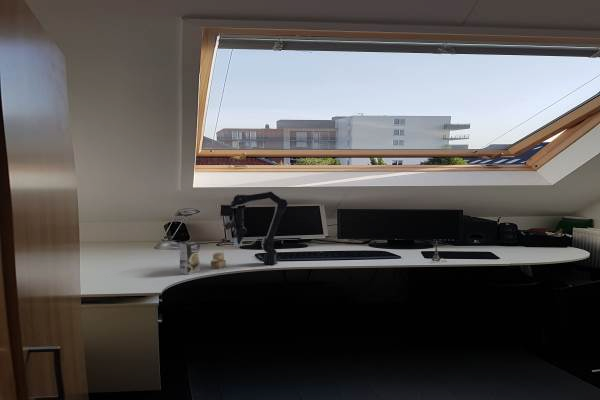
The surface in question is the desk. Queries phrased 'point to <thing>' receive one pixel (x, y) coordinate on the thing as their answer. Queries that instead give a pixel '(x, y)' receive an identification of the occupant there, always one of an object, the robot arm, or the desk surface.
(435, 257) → the eiffel tower figurine
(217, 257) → the top block
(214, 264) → the base block
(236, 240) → the cylinder
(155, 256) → the desk surface
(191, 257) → the coffee box
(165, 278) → the desk surface
